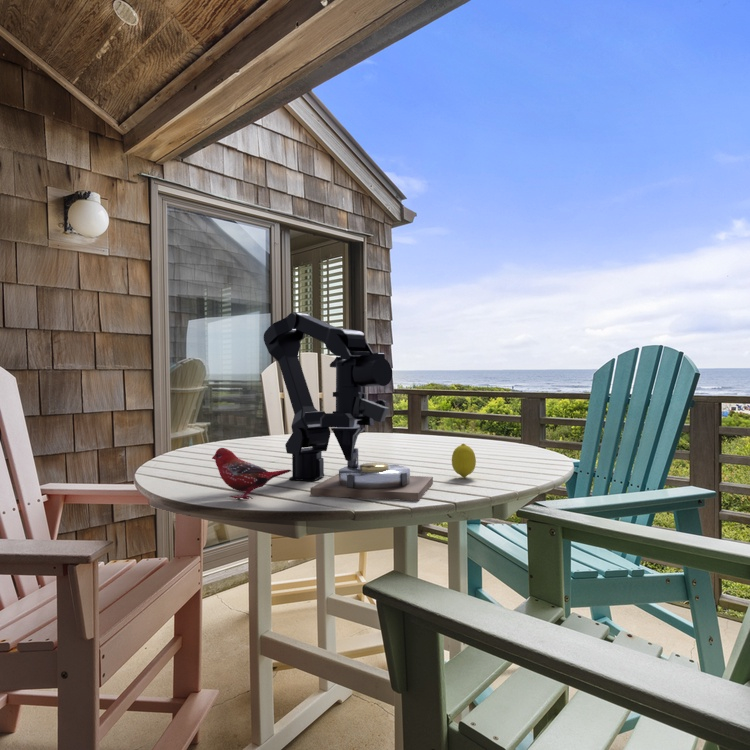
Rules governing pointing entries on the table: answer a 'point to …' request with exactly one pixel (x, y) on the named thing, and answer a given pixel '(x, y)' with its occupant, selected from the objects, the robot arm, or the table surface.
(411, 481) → the base plate
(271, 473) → the decorative bird figurine
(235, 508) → the table surface
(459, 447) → the lemon
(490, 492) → the table surface
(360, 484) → the notched round platform
